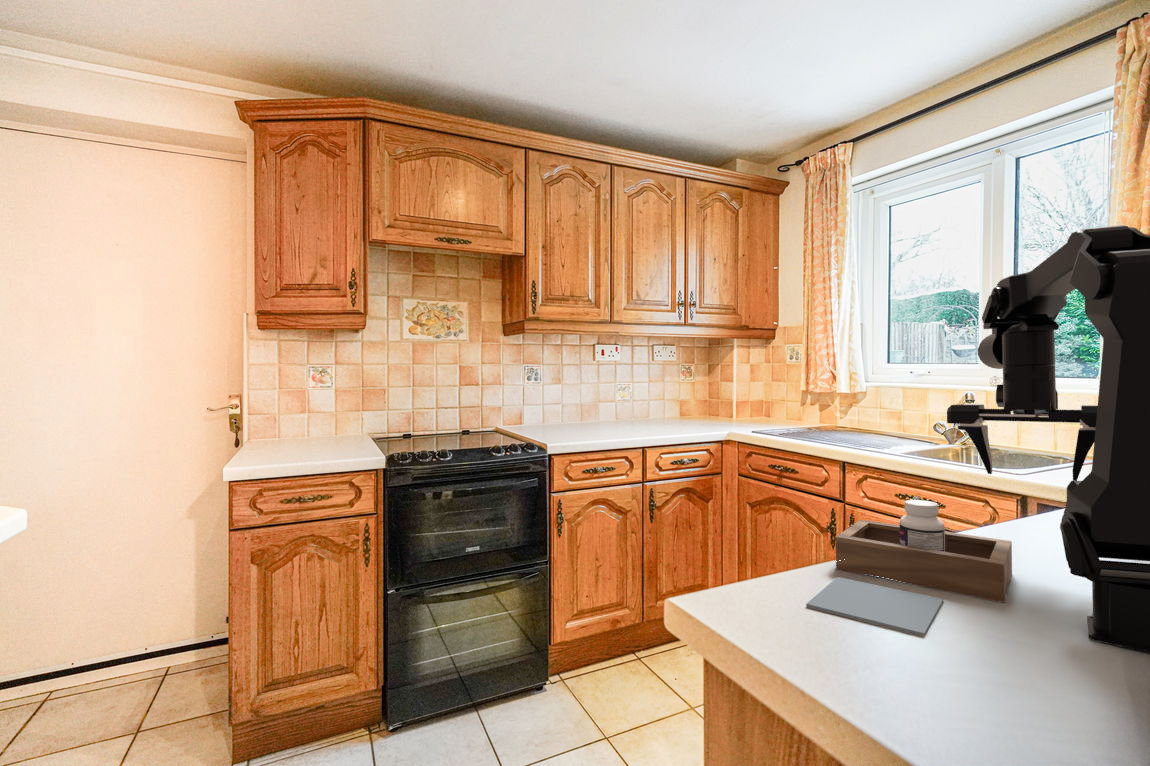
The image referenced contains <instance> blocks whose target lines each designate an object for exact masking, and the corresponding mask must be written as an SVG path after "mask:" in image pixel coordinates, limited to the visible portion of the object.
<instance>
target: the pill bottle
mask: <svg viewBox="0 0 1150 766" xmlns="http://www.w3.org/2000/svg"><path fill="white" fill-rule="evenodd" d="M939 510H940V509H939V504H938V503H937V502H934V501H929V500H923V499H910V500H909V499H908V500H907V499H906V500H905V501H904V511H905V513H906V515H902V517H900V519H899V525H900V545H906V546H912V547H918V548H925V549H931V550H937V551H943V552H945V532H946V527H945V523H944V522H943V521H942V519H940V518H938V517H937V516H938V515H939Z"/></svg>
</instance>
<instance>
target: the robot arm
mask: <svg viewBox="0 0 1150 766" xmlns="http://www.w3.org/2000/svg"><path fill="white" fill-rule="evenodd" d="M1075 290H1077V291H1078V293H1080V294H1081V295H1082V296H1083V297H1084V314H1085V315H1086V317H1087V318H1088V320H1089V321H1090V323H1091V324H1092V325H1093V327H1094V328H1095V329H1096V331H1097V332H1098V333H1099V335H1100V336H1101V338H1102V341H1103V342H1102V343H1103V344H1102V353H1101V363H1100V375H1099V385H1098V388H1099V389H1098V398H1097V405H1093V404H1091V405H1084V404H1083V405H1080V408H1081V409H1059V398H1058V395H1059V393H1058V390H1057V388H1056V387H1057V386H1056V385H1057V384H1056V347H1055V346H1056V345H1055V344H1056V343H1055V341H1056V340H1055V339H1056V337H1055V331H1056V330H1057V331H1058V330H1059V328H1060V325H1059V323H1058V322H1057V321H1055V320H1056V319H1057V317H1058V316H1059V314H1060V312H1061V311H1062V310H1063V309H1064V308H1065V307H1066V306H1067V305H1068V302H1067V301H1068V300H1067V295H1069V294H1070V293H1071V292H1074V291H1075ZM981 320H982V323H983V326H982V327H983V330H991V334H989V335H987V336H985V338H983V339H982V340H981V342H980V343H979V345H978V347H977V355H978V358H979V360H980V361H981V362H982V364H984V365H985V366H987V367H989V368H991V369H996V370H1001V369H1002V384H996V390H995V403H996V406H997V407H998V408H985V404H966V403H965V404H957V403H956V404H951V405H950V406H949V407H948V408H947V410H946V424H953V425H954V424H957V430H959V431H965V432H966V434H967V435H968V436H969V439H970V440H971V442H972V444H974V446H975V448H976V450H977V453H978V454H979V457H980V459H981V461H982V463H983V465H984V468H985V471H986V472H987V475H992V474H993V459H992V453H991V446H990V441H989V431H988V429H989V427H988V425H986V424H984V423H985V421H988V422H990V421H992V422H994V421H995V422H997V421H998V422H1032V423H1037V422H1038V423H1071V424H1072V423H1073V424H1074V423H1076V424H1079V425H1080V426H1082V427H1079V429H1078V432H1077V436H1076V437H1077V438H1076V443H1075V444H1076V445H1075V452H1074V458H1073V464H1072V465H1073V466H1072V480H1071V481H1070V482H1069V483H1068V485H1067V486H1066V503H1065V507H1064V511H1063V515H1062V517H1061V521H1060V524H1059V529H1060V533H1061V538H1062V542H1063V543H1062V544H1063V548H1064V554H1065V559H1066V562H1067V566H1068V568H1069V569H1070V570H1069V572H1070V574H1071V575H1073V576H1076V577H1081V578H1086V579H1087V580H1089V581H1090V582H1091V583H1092V585H1091V587H1092V589H1091V590H1092V592H1091V593H1092V595H1091V596H1092V598H1091V599H1092V615H1087V616H1086V624H1087V633H1088V634H1087V635H1088V638H1089V639H1090V640H1092V641H1095V642H1100V643H1105V644H1109V645H1113V646H1114V645H1115V646H1119V647H1124V648H1128V649H1132V650H1137V651H1141V652H1144V653H1145V652H1147V653H1150V563H1144V562H1150V234H1145V233H1144V232H1142V231H1140V230H1139V229H1138V228H1136V227H1133V226H1127V225H1111V226H1099V227H1088V228H1087V227H1086V228H1082V229H1080V230H1077V231H1074V232H1071V234H1070V235H1069V237H1068V239H1067V241H1066V243H1065V244H1064V245H1063V246H1061V247H1060V248H1059V249H1057V250H1056V251H1054V252H1053V253H1052V254H1050V256H1048V257H1047V258H1046V259H1044V260H1043V261H1042V262H1041V263H1039V264H1038V265H1036V267H1034V268H1033V269H1032V270H1030V271H1027V272H1023V273H1017V274H1013V275H1010V276H1007V277H1005V278H1002V279H1000V280H999V282H997V284H996V286H995V287H994V288H993V289H992V290H991V293H990V295H989V296H988V299H987V302H986V304H985V307H984V310H983V314H982V316H981ZM1092 446H1093V447H1092ZM1091 448H1093V452H1092V453H1093V454H1092V464H1091V471H1090V473H1088V474H1087V475H1086V476H1085V477H1084V479H1083V480H1078V479H1079V477H1080V474H1081V471H1082V468H1083V466H1084V463H1085V461H1086V458H1087V457H1088V454H1089V451H1090V450H1091ZM1104 559H1111V560H1104ZM1116 560H1117V561H1116ZM1118 560H1126V561H1118ZM1130 561H1136V562H1130ZM1137 561H1138V562H1137ZM1139 561H1140V562H1139ZM1141 561H1142V562H1141Z"/></svg>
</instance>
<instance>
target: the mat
mask: <svg viewBox="0 0 1150 766" xmlns="http://www.w3.org/2000/svg"><path fill="white" fill-rule="evenodd" d="M943 604H944V598H939V597H935V596H930V595H925V594H921V593H917V592H911V591H907V590H901V589H898V588H892V587H889V586H888V587H886V586H884V585H879V584H873V583H867V582H863V581H859V580H854V579H850V578H844V577H839V576H837V577H836V578H835V579H833V580H832V581H831V582H830V583H828V584H827V585H826V586H824V588H823V589H822V590H821V591H819V592H818V593H817V594H816V595H815V596H814V597H812V598H811V599H810V600H809V601H808V602H807V603H806V604H805V606H806V607H805V608H809V609H813V610H816V611H820V612H825V613H828V614H831V615H832V614H833V615H836V616H840V617H843V618H848V619H852V620H857V621H860V622H865V623H868V624H870V625H876V626H879V627H883V628H888V629H891V630H895V631H900V632H903V633H907V634H910V635H915V636H919V637H921V638H922V637H923V638H926V635H927V633H928V631H929V629H930V628H931V626H932V624H933V622H934V621H935V619H936V616H937V615H938V613H939V611H940V609H941V608H942V605H943Z"/></svg>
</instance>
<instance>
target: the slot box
mask: <svg viewBox="0 0 1150 766" xmlns="http://www.w3.org/2000/svg"><path fill="white" fill-rule="evenodd" d="M1012 543H1013V542H1012V540H1007V539H998V538H993V537H987V536H977V535H973V534H972V535H971V534H964V533H957V532H951V531H945V552H943V551H937V550H931V549H925V548H918V547H912V546H906V545H900V524H894V523H886V522H879V521H874V520H873V521H872V520H867V519H866V520H865V519H860V520H858V521H856V522H855V523H854V524H852V525H850V527H847V528H846V529H845V530H843V531H842V532H841V533H839V534H838V535H836V536H835V565H836V566H835V569H836V570H839V571H844V572H849V573H855V574H859V573H860V575H864V574H867V575H866V576H869V575H873V576H879V577H884V578H889V579H893V580H897V581H896V582H898V581H901V582H900V583H903V582H905V584H908V583H909V585H913V586H919V587H924V588H928V589H934V590H939V591H943V592H948V593H953V594H957V595H962V596H967V597H973V598H979V599H981V600H982V599H983V600H989V601H993V602H999V603H1006V598H1007V594H1008V590H1009V587H1010V584H1011V580H1012V576H1013V551H1012V550H1013V549H1012V547H1013V546H1012ZM844 559H845V560H844ZM839 560H841V561H839ZM836 561H837V562H836ZM873 576H872V577H873ZM893 580H892V581H893Z"/></svg>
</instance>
